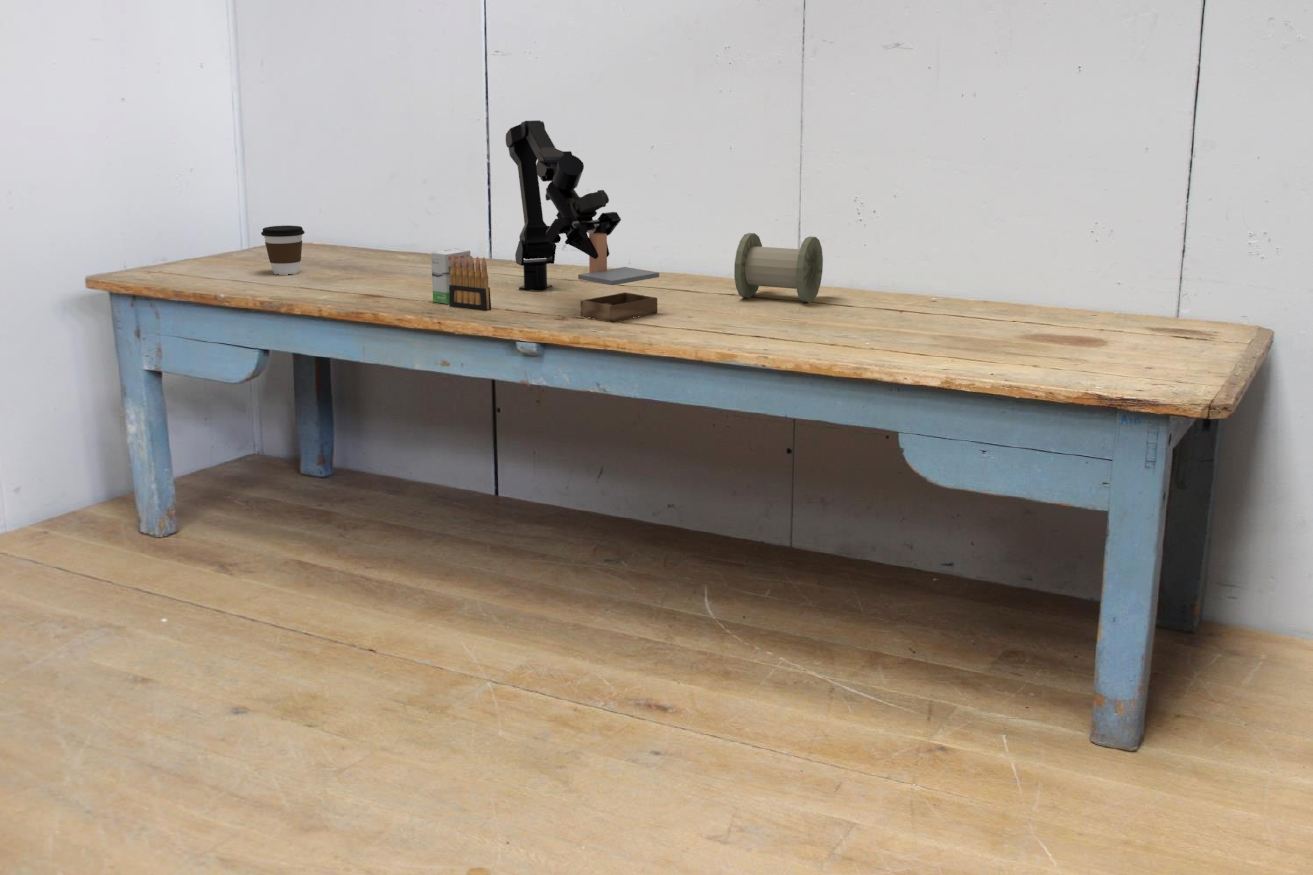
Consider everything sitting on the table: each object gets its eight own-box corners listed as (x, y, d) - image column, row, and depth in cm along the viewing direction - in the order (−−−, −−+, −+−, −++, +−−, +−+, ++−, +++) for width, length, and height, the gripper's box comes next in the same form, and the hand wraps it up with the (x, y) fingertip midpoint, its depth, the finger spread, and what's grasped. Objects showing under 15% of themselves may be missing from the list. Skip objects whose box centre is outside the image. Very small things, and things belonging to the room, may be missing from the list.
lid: (570, 277, 285) (569, 236, 282) (617, 269, 295) (617, 230, 292) (612, 285, 276) (612, 243, 273) (659, 277, 286) (659, 236, 283)
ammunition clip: (491, 309, 293) (489, 256, 289) (486, 311, 291) (484, 258, 288) (454, 305, 298) (452, 253, 295) (449, 306, 296) (446, 254, 293)
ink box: (447, 304, 299) (444, 253, 295) (431, 302, 302) (429, 251, 298) (473, 299, 305) (471, 249, 302) (458, 297, 308) (455, 247, 305)
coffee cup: (316, 272, 343) (313, 227, 340) (284, 278, 334) (280, 231, 331) (287, 269, 349) (284, 224, 346) (255, 274, 340) (251, 228, 337)
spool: (821, 296, 308) (823, 233, 304) (801, 307, 295) (803, 241, 291) (756, 291, 315) (757, 230, 311) (733, 302, 302) (734, 237, 298)
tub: (580, 316, 285) (580, 300, 284) (625, 307, 295) (625, 292, 294) (612, 322, 279) (612, 306, 278) (657, 313, 288) (657, 297, 287)
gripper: (553, 181, 279) (589, 237, 275) (614, 175, 292) (650, 229, 288) (530, 215, 286) (565, 270, 282) (591, 208, 299) (625, 260, 295)
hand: (602, 256), depth 287 cm, fingers closed on lid, 3 cm apart
